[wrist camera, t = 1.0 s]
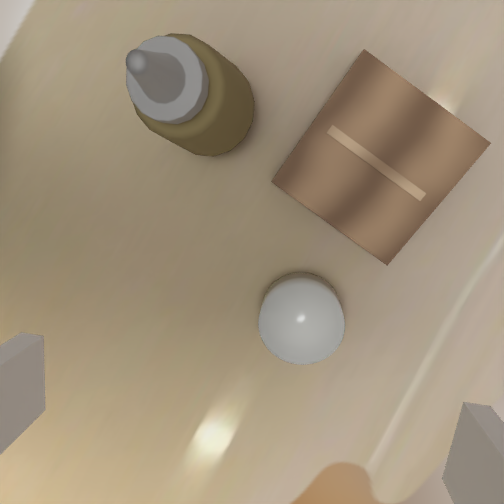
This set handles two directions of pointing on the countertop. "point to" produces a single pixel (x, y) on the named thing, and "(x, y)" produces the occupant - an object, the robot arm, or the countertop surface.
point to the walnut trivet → (379, 158)
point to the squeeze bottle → (189, 94)
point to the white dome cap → (301, 319)
